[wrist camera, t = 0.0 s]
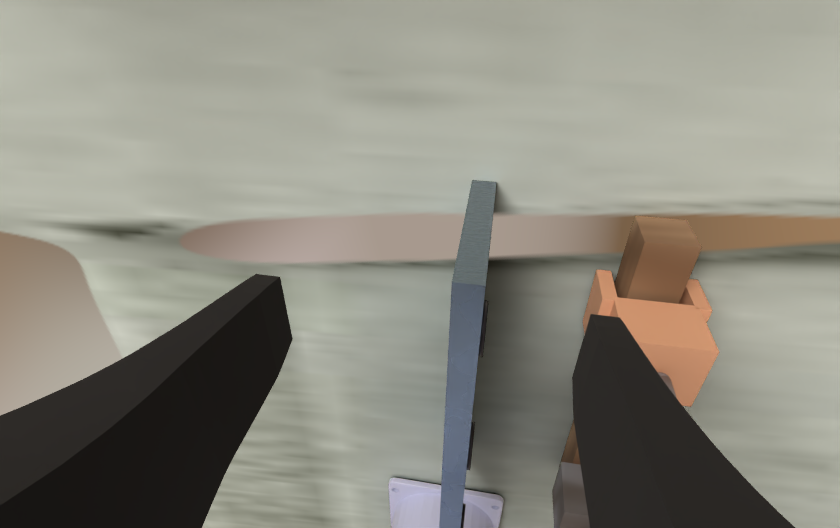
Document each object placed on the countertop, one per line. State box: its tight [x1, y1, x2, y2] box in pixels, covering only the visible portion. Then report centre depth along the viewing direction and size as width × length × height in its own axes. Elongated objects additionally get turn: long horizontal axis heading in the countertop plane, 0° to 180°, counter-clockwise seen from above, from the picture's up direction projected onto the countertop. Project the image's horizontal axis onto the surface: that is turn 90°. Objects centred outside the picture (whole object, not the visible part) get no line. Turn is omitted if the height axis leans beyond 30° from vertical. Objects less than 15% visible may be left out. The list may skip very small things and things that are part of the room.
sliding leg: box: [583, 270, 719, 407], centre depth 19 cm, size 3×4×6 cm
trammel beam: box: [552, 216, 702, 528], centre depth 22 cm, size 18×3×7 cm, turn 0°
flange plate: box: [439, 180, 496, 528], centre depth 22 cm, size 18×1×7 cm, turn 0°
